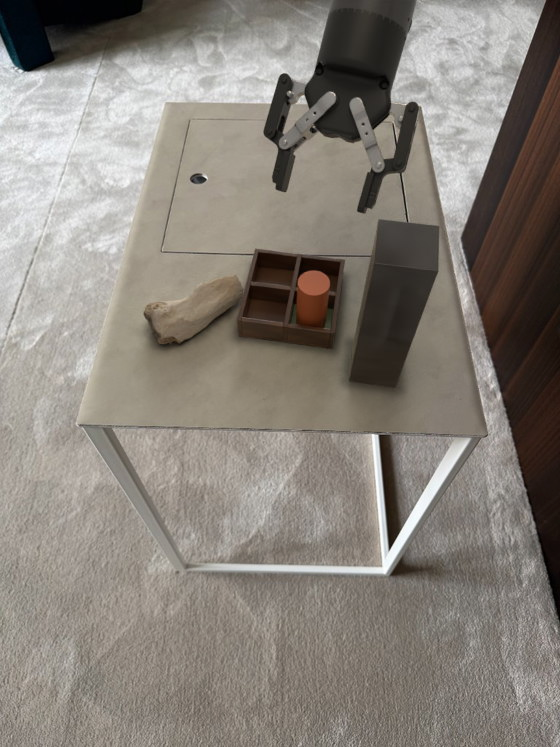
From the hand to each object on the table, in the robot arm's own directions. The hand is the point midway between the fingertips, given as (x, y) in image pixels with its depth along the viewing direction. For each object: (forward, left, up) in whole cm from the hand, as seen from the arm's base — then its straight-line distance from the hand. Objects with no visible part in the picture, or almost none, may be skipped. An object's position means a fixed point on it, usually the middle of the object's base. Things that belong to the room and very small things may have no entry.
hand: (320, 201), depth 55 cm
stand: (-9, +4, -23) cm, 25 cm away
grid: (+3, -4, -23) cm, 23 cm away
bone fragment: (+16, 0, -23) cm, 28 cm away
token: (0, -1, -22) cm, 22 cm away
